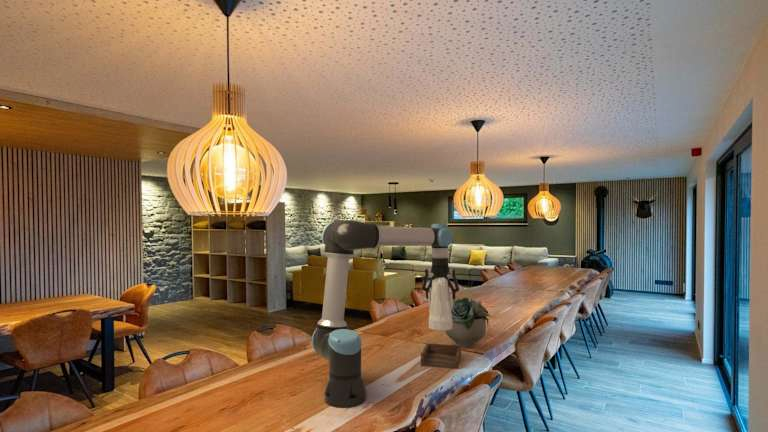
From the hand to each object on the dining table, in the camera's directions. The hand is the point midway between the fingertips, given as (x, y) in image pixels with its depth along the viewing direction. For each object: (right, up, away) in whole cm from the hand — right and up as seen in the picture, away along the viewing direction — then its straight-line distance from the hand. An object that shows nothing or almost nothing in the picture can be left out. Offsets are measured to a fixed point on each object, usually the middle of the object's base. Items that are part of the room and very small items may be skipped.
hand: (440, 306), depth 186 cm
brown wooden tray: (0, -25, 0) cm, 25 cm away
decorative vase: (0, -10, 0) cm, 10 cm away
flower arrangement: (+16, -25, +24) cm, 38 cm away
